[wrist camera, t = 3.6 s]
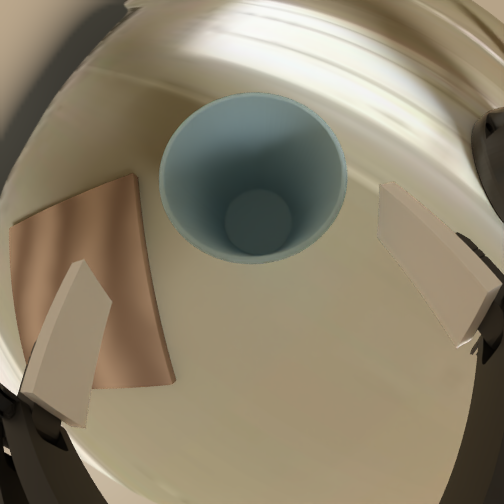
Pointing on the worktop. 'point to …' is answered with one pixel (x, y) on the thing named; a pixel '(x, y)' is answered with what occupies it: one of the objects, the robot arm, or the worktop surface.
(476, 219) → the worktop surface
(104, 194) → the board
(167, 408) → the worktop surface
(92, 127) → the worktop surface
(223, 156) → the cup
